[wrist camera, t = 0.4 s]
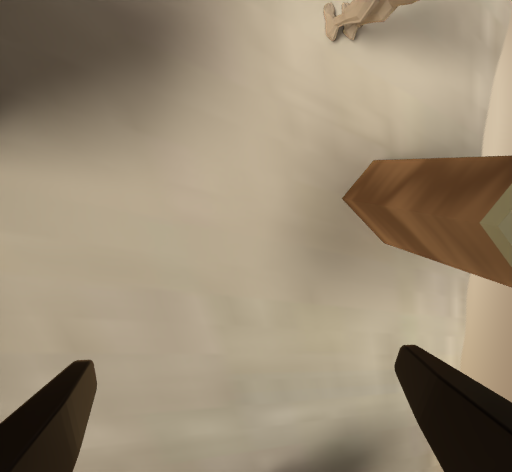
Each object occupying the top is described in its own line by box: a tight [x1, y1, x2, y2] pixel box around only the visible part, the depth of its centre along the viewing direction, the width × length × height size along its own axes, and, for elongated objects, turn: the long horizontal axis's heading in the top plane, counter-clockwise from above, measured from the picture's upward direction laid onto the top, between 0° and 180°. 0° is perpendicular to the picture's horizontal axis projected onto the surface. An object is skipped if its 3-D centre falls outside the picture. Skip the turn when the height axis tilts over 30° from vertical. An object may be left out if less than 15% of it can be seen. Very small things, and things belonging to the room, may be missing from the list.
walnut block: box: [342, 156, 512, 287], centre depth 19 cm, size 4×6×12 cm, turn 48°
